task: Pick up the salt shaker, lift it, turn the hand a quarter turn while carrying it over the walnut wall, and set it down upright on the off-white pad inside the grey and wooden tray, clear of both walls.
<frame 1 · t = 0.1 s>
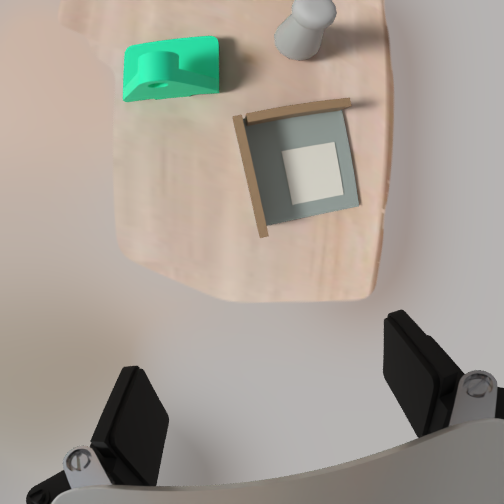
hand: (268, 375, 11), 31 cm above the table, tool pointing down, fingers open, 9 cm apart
salt shaker: (294, 46, 34), on the table
grey and wooden tray: (299, 163, 39), on the table
camera mount: (173, 71, 35), on the table
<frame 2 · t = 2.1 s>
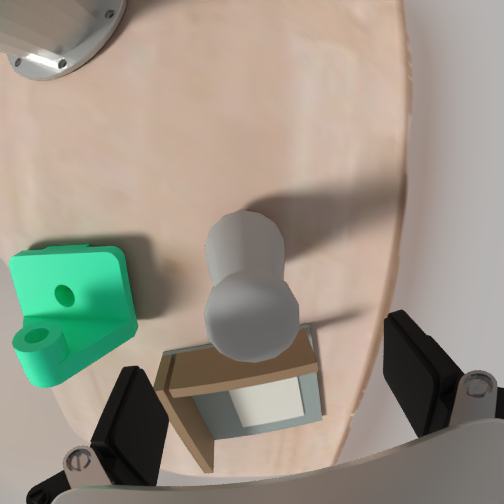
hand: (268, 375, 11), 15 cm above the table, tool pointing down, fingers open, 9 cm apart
salt shaker: (243, 239, 25), on the table
grey and wooden tray: (250, 391, 30), on the table
camera mount: (77, 282, 26), on the table
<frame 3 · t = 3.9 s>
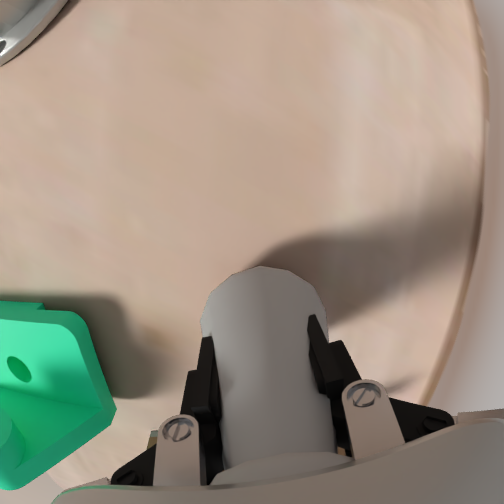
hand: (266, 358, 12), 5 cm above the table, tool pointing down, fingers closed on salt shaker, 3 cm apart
salt shaker: (260, 302, 17), on the table, touching gripper
camera mount: (37, 347, 17), on the table
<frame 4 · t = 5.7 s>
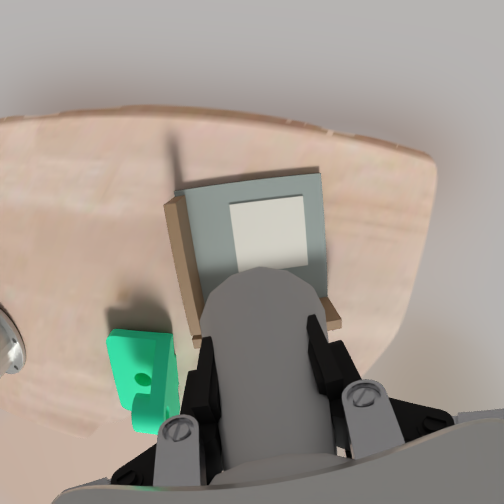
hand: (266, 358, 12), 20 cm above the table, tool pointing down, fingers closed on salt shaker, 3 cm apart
salt shaker: (259, 302, 17), point 15 cm above the table, touching gripper
grey and wooden tray: (256, 250, 31), on the table
camera mount: (148, 365, 36), on the table
when the fingers open (7 cm above the table, at t = 7.5 s): salt shaker drops 1 cm, resting on grey and wooden tray.
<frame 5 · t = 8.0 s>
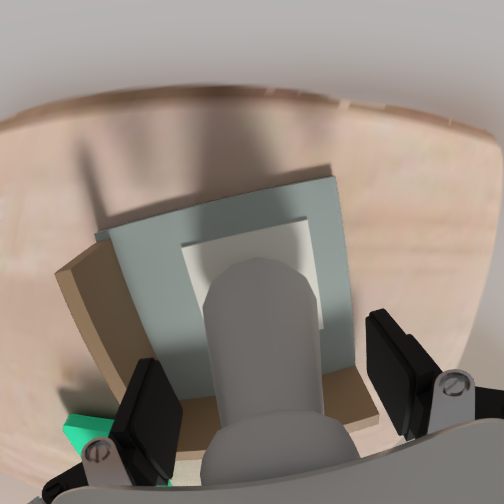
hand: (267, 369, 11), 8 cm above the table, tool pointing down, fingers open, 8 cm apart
salt shaker: (257, 292, 18), point 1 cm above the table, touching grey and wooden tray
grey and wooden tray: (237, 313, 19), on the table
camera mount: (125, 448, 24), on the table
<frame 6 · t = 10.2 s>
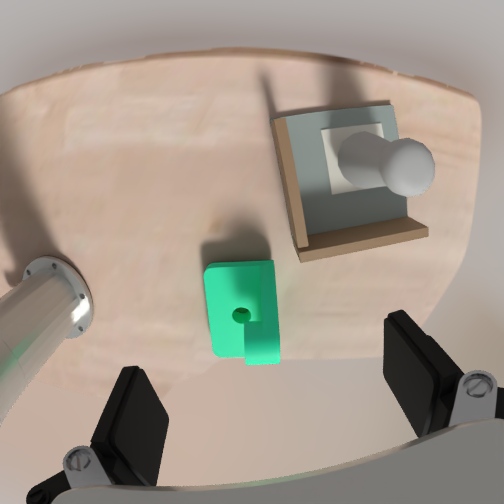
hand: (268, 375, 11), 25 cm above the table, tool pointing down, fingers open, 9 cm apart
salt shaker: (357, 158, 31), point 1 cm above the table, touching grey and wooden tray
grey and wooden tray: (344, 172, 32), on the table
camera mount: (242, 304, 38), on the table
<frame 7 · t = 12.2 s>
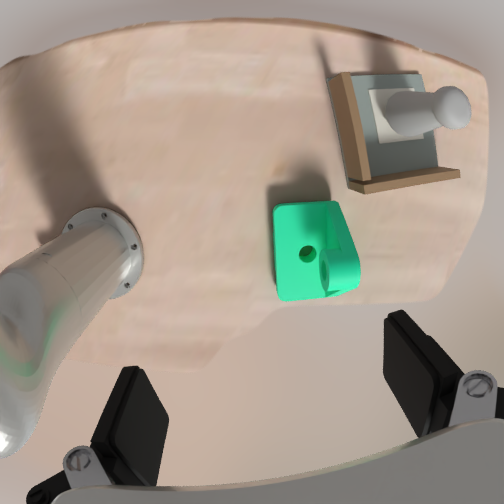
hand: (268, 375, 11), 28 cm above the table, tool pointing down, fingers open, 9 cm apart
salt shaker: (397, 115, 34), point 1 cm above the table, touching grey and wooden tray
grey and wooden tray: (387, 127, 35), on the table
camera mount: (303, 247, 40), on the table
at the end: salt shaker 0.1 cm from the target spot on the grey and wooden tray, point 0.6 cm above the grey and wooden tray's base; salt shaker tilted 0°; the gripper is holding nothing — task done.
